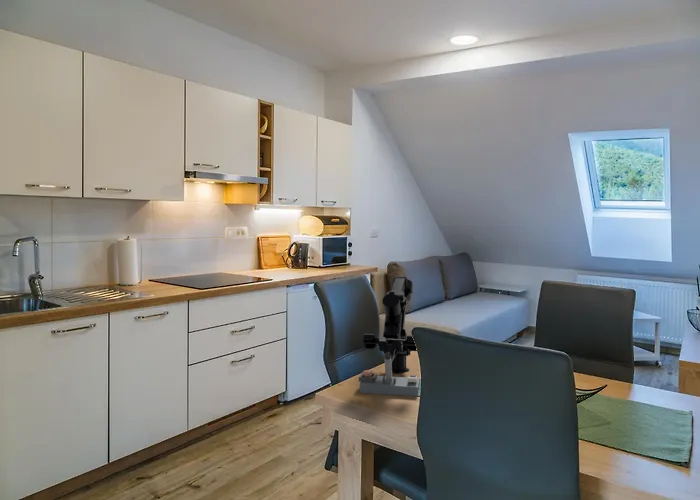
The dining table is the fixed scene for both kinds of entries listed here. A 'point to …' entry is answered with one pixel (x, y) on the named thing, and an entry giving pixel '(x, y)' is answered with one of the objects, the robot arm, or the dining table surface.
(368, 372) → the push button
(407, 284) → the robot arm
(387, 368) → the toggle lever
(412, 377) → the rocker switch
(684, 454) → the dining table surface
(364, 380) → the panel
